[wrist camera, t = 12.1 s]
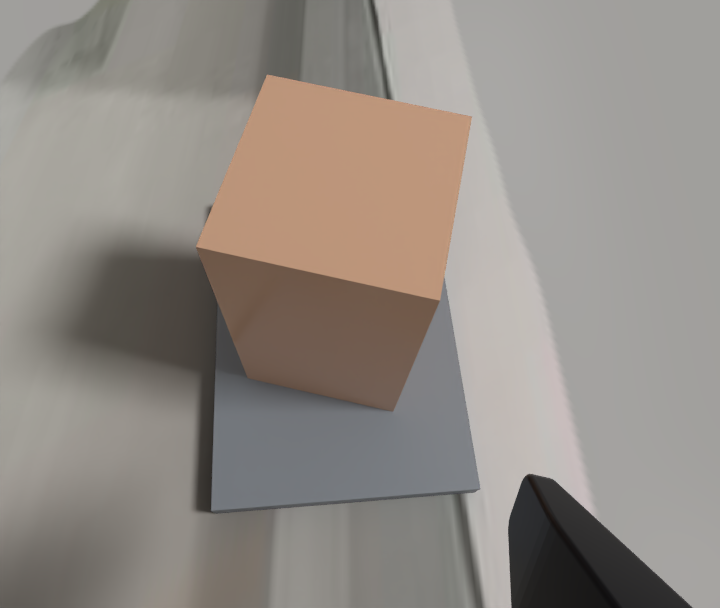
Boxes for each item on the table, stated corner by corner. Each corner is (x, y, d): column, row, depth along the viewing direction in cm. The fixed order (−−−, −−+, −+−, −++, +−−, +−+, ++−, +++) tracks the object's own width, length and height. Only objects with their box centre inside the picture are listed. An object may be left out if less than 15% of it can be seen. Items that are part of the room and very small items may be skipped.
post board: (474, 492, 22) (503, 476, 18) (216, 513, 21) (193, 500, 17) (426, 201, 28) (441, 146, 24) (224, 208, 27) (208, 152, 23)
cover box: (393, 411, 22) (440, 300, 13) (247, 378, 22) (195, 246, 13) (418, 282, 25) (472, 116, 16) (288, 254, 25) (267, 74, 16)
